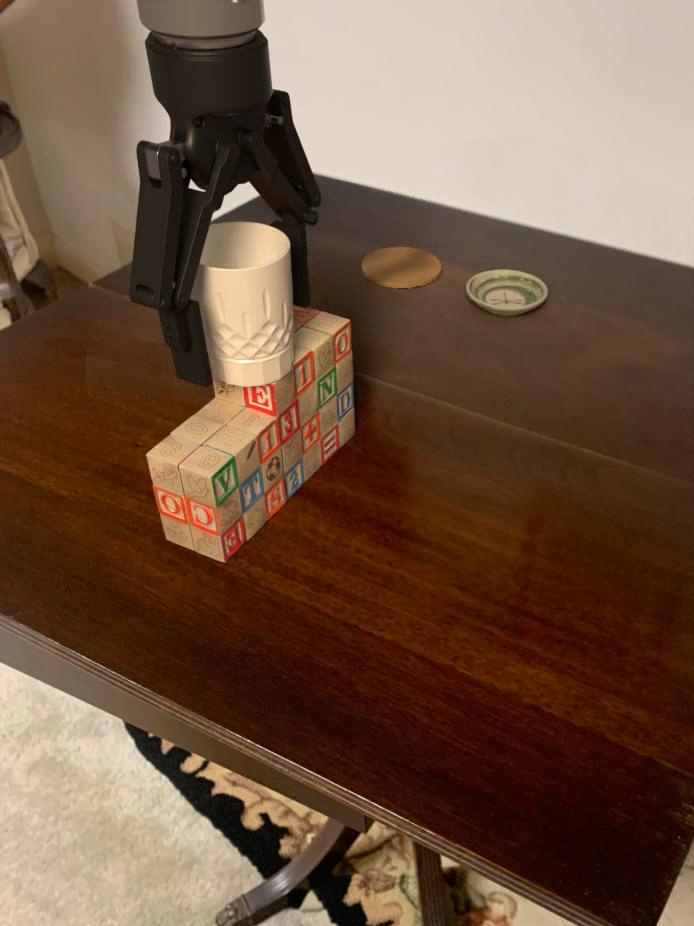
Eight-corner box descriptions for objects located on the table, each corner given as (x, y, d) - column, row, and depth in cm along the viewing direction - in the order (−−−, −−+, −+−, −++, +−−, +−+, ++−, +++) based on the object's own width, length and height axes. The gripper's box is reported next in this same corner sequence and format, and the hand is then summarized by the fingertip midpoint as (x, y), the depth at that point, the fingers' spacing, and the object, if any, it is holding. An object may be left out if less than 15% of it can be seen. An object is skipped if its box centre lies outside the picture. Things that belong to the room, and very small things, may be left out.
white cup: (240, 330, 75) (223, 212, 68) (319, 355, 73) (310, 236, 66) (181, 374, 70) (157, 252, 63) (265, 402, 68) (249, 279, 61)
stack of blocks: (226, 566, 73) (202, 445, 64) (165, 542, 75) (133, 420, 66) (356, 432, 87) (351, 316, 78) (302, 414, 88) (291, 299, 79)
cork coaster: (346, 276, 109) (346, 271, 108) (385, 244, 115) (385, 240, 114) (418, 296, 106) (418, 291, 105) (454, 263, 112) (454, 258, 112)
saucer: (530, 283, 109) (532, 264, 107) (557, 322, 103) (560, 303, 101) (455, 290, 107) (455, 271, 105) (478, 331, 101) (479, 311, 99)
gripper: (118, 98, 46) (188, 435, 61) (358, -3, 62) (366, 285, 77) (8, 72, 48) (103, 404, 63) (268, -19, 64) (293, 264, 79)
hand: (247, 339), depth 70 cm, fingers open, 13 cm apart
